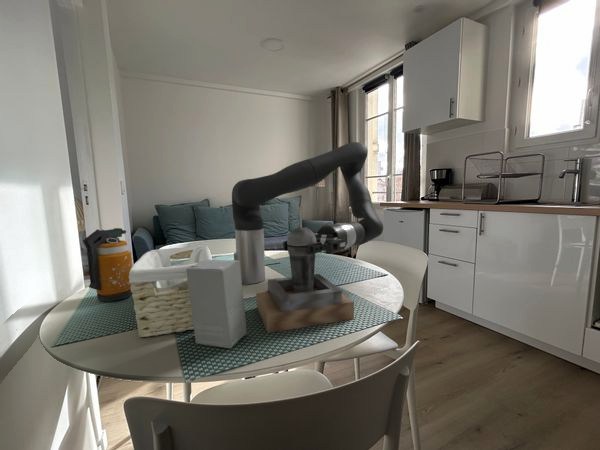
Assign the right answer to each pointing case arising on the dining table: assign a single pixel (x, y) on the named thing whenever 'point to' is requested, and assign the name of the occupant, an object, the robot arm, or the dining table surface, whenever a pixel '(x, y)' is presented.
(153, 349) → the dining table surface
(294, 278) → the beverage cup
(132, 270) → the storage basket
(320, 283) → the cup block
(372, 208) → the robot arm
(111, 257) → the canister
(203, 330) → the skincare box
